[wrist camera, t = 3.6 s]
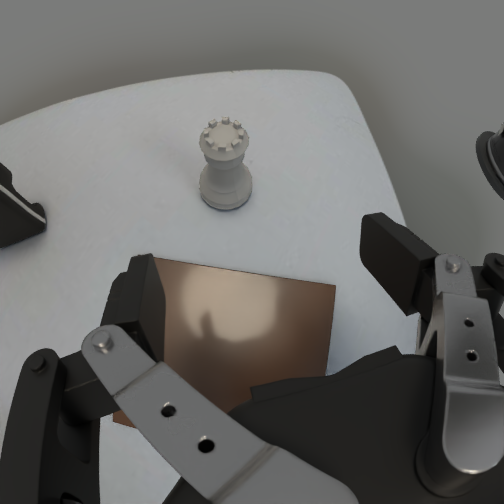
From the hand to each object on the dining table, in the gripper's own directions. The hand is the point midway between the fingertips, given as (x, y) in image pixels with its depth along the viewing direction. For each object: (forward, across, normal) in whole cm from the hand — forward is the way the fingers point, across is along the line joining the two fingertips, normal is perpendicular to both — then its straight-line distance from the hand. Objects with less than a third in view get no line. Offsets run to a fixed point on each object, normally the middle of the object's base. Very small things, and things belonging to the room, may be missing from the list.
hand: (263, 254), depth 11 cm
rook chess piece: (+16, 0, +3) cm, 16 cm away
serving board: (+6, +3, +12) cm, 14 cm away
